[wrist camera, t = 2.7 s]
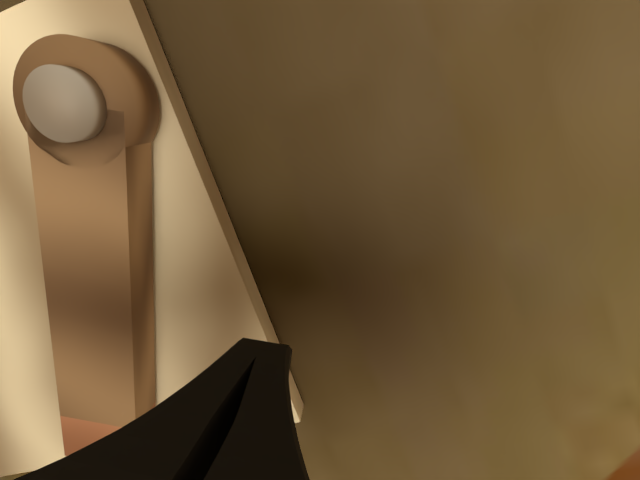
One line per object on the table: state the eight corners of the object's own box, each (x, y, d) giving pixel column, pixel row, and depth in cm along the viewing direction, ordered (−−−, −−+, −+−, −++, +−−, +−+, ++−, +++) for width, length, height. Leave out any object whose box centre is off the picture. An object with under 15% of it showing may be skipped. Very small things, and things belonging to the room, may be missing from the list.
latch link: (45, 35, 12) (-16, 21, 10) (159, 49, 12) (118, 38, 10) (82, 425, 17) (46, 467, 15) (162, 440, 17) (136, 484, 15)
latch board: (14, 459, 20) (-2, 477, 19) (-212, 126, 16) (-249, 127, 15) (303, 404, 17) (300, 421, 16) (131, -29, 13) (112, -40, 12)
